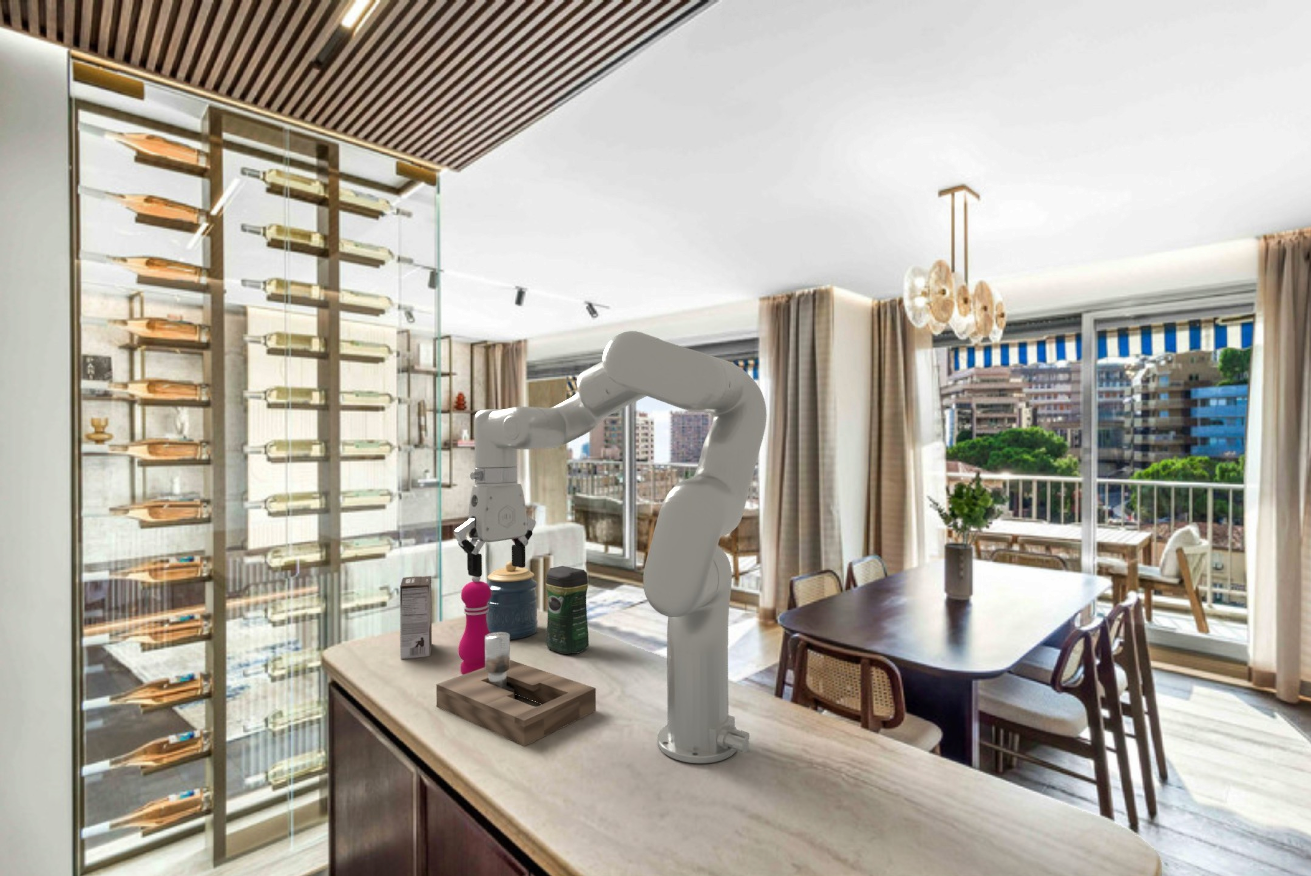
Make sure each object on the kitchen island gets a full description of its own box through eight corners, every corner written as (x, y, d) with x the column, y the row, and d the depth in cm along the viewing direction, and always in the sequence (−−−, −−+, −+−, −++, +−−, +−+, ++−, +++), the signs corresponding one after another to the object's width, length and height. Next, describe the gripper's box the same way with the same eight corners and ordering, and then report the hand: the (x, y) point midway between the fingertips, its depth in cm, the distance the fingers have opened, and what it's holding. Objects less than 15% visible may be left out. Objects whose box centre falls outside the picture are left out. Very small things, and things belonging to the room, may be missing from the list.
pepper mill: (499, 664, 133) (499, 570, 133) (487, 677, 126) (486, 578, 126) (466, 663, 133) (466, 570, 134) (452, 676, 126) (451, 577, 126)
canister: (545, 634, 153) (545, 562, 153) (493, 644, 146) (493, 568, 146) (527, 621, 164) (526, 554, 164) (477, 630, 157) (477, 559, 157)
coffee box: (402, 646, 145) (402, 576, 145) (432, 643, 147) (432, 574, 147) (399, 659, 136) (398, 585, 136) (430, 656, 138) (430, 583, 138)
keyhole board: (595, 710, 110) (595, 687, 110) (524, 746, 97) (524, 720, 97) (508, 679, 125) (508, 659, 125) (436, 706, 112) (436, 683, 112)
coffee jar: (594, 648, 143) (594, 567, 143) (567, 657, 137) (567, 572, 137) (567, 639, 149) (566, 561, 149) (540, 648, 143) (540, 567, 143)
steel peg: (521, 700, 115) (521, 634, 115) (494, 711, 110) (494, 643, 110) (500, 692, 118) (500, 628, 118) (473, 702, 114) (473, 636, 114)
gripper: (468, 480, 105) (469, 582, 105) (546, 475, 119) (547, 565, 119) (442, 479, 110) (443, 577, 110) (520, 474, 123) (521, 561, 123)
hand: (497, 571), depth 114 cm, fingers open, 9 cm apart
